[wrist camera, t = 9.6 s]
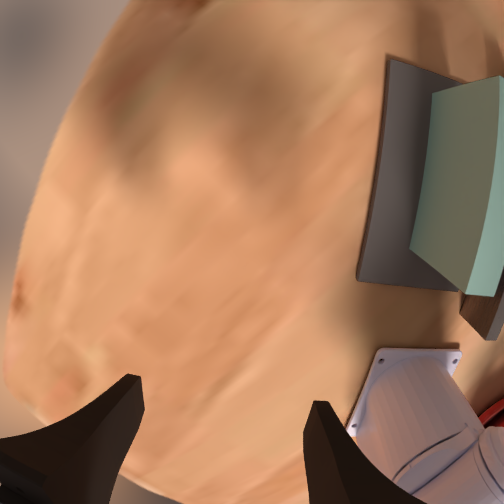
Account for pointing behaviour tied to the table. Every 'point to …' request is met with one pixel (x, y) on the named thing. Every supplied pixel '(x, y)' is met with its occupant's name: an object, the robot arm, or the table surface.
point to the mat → (401, 181)
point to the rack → (485, 312)
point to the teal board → (464, 187)
